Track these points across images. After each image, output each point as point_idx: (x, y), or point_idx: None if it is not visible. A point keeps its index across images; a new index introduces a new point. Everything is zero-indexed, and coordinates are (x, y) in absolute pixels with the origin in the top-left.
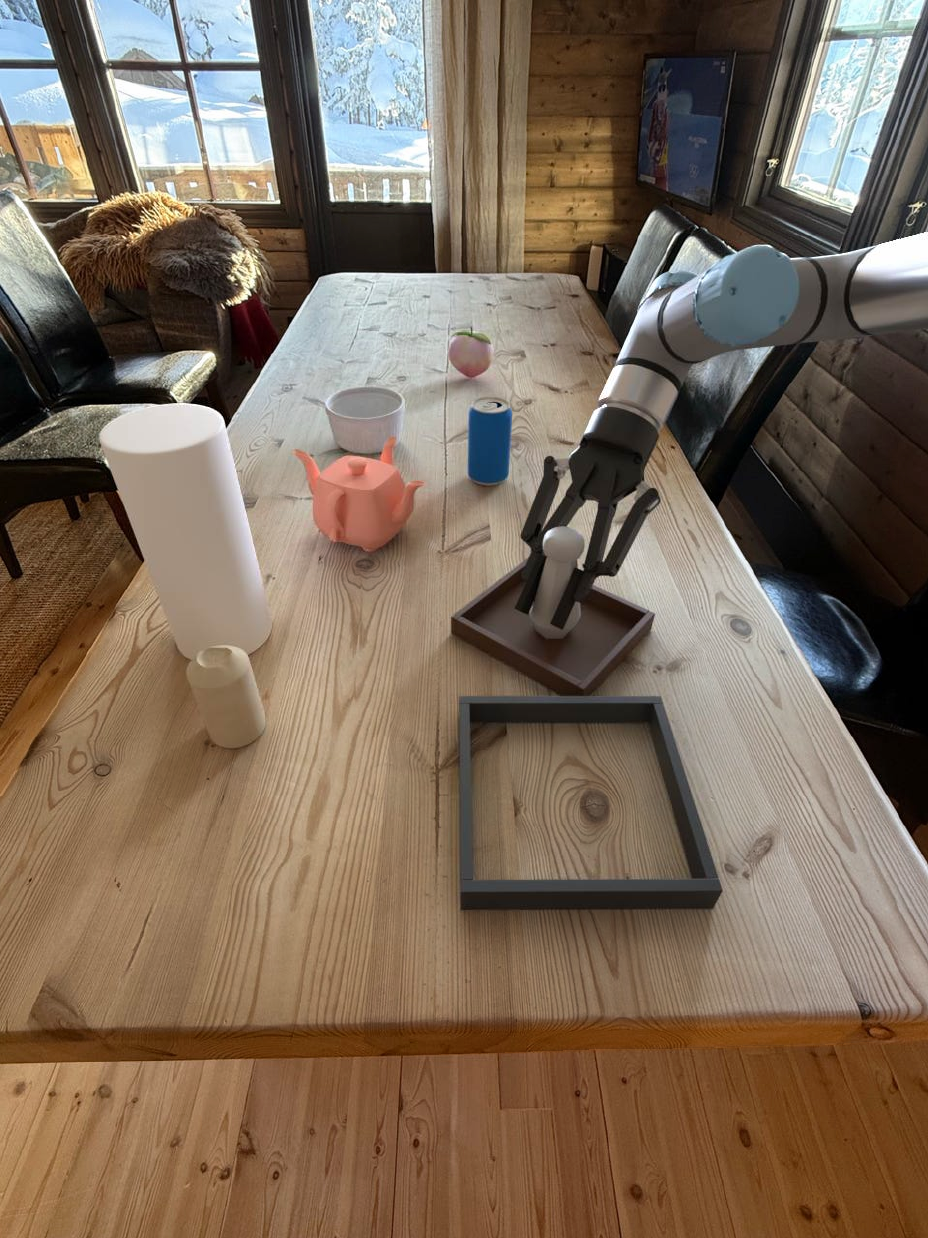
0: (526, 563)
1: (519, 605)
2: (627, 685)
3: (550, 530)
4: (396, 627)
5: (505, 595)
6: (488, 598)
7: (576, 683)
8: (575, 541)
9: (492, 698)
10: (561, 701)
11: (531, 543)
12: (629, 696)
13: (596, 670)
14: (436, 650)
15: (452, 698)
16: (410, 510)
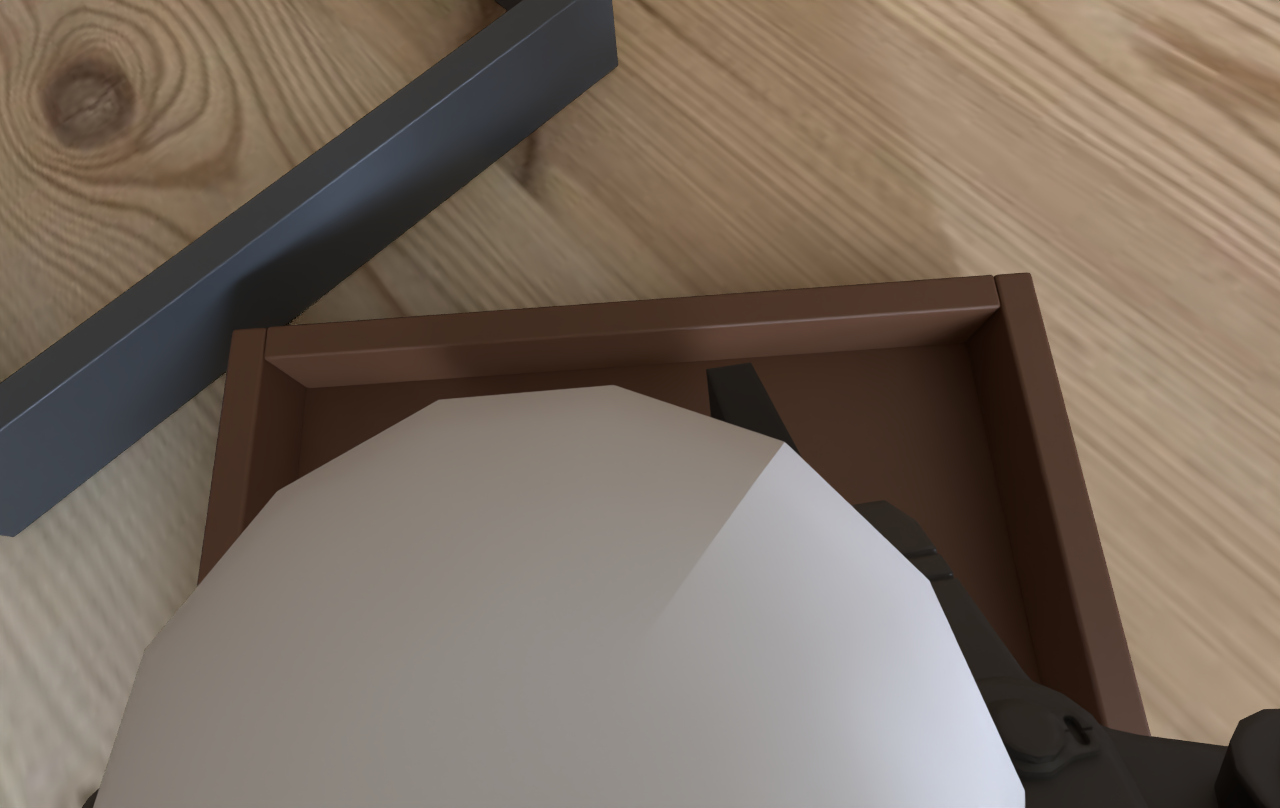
0: (958, 587)
1: (733, 379)
2: (173, 614)
3: (945, 777)
4: (1168, 195)
5: None
6: (1044, 558)
7: (275, 335)
8: (145, 786)
9: (502, 38)
10: (268, 195)
11: (1151, 774)
12: (17, 410)
13: (233, 468)
14: (933, 215)
15: (692, 100)
16: None
